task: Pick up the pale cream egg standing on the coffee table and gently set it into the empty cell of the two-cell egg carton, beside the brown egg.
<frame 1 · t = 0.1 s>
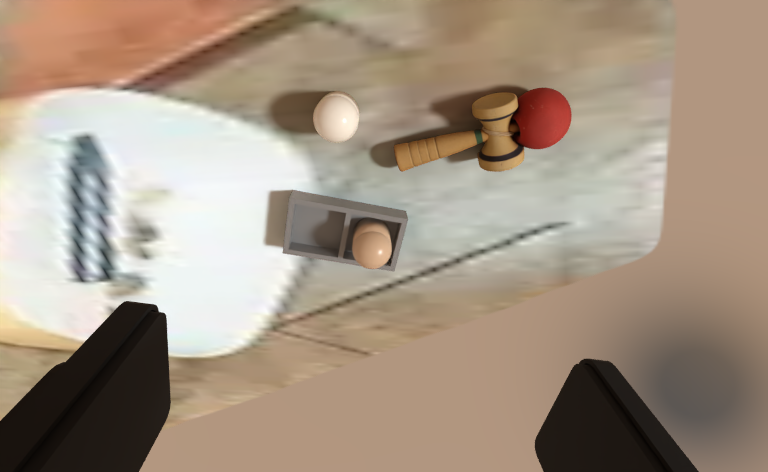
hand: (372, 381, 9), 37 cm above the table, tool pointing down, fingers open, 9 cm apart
egg: (338, 113, 42), on the table
carton: (345, 227, 47), on the table
kendama: (473, 132, 43), on the table
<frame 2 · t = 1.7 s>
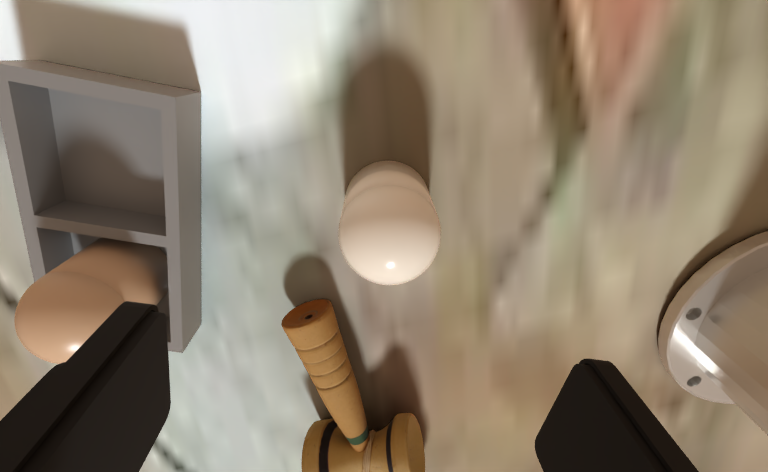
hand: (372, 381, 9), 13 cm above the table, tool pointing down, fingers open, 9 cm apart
egg: (387, 201, 21), on the table
carton: (132, 212, 20), on the table
kendama: (357, 398, 27), on the table
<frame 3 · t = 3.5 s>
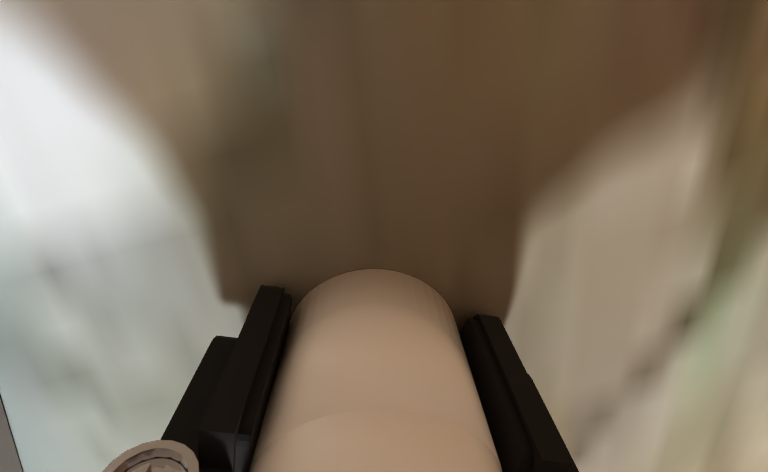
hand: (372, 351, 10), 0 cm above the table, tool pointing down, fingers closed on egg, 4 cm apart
egg: (373, 341, 10), on the table, touching gripper
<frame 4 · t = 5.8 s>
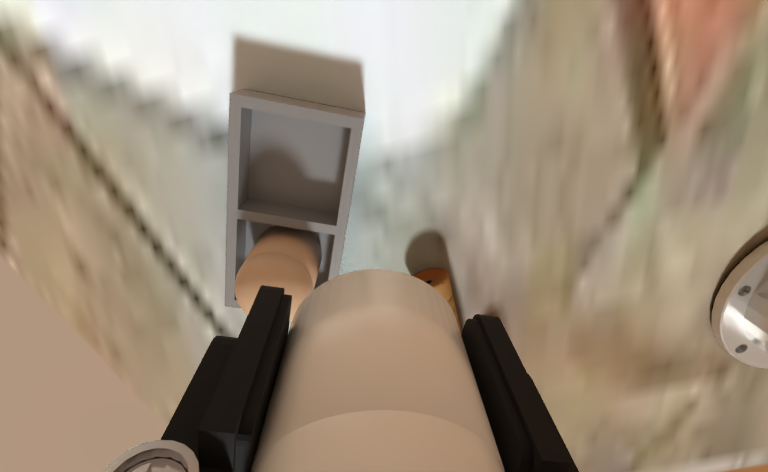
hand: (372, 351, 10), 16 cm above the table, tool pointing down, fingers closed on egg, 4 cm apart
egg: (374, 341, 10), point 16 cm above the table, touching gripper
carton: (295, 207, 25), on the table
kendama: (452, 356, 32), on the table
when the fingers open (3 cm above the table, at t = 8.3 s): egg drops 2 cm, resting on carton.
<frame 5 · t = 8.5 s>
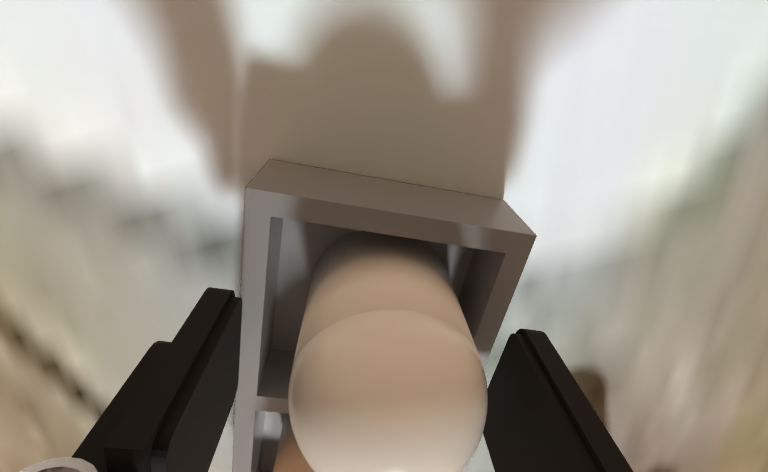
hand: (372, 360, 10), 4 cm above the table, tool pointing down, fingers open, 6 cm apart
egg: (380, 290, 12), point 1 cm above the table, touching carton
carton: (354, 355, 14), on the table
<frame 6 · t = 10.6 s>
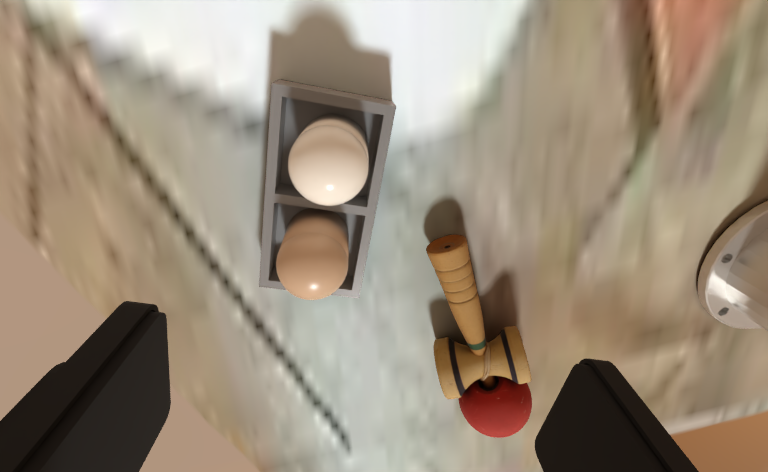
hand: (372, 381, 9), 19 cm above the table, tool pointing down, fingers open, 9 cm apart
egg: (334, 148, 25), point 1 cm above the table, touching carton
carton: (323, 191, 27), on the table
kendama: (466, 320, 33), on the table
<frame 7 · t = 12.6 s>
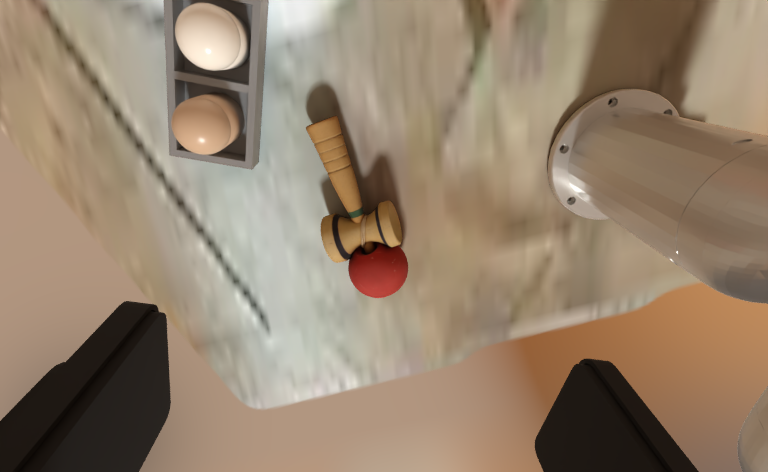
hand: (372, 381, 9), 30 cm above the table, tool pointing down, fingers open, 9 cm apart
egg: (224, 40, 32), point 1 cm above the table, touching carton
carton: (222, 80, 34), on the table
kendama: (355, 203, 40), on the table
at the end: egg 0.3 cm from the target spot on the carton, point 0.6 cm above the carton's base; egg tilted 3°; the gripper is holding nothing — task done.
